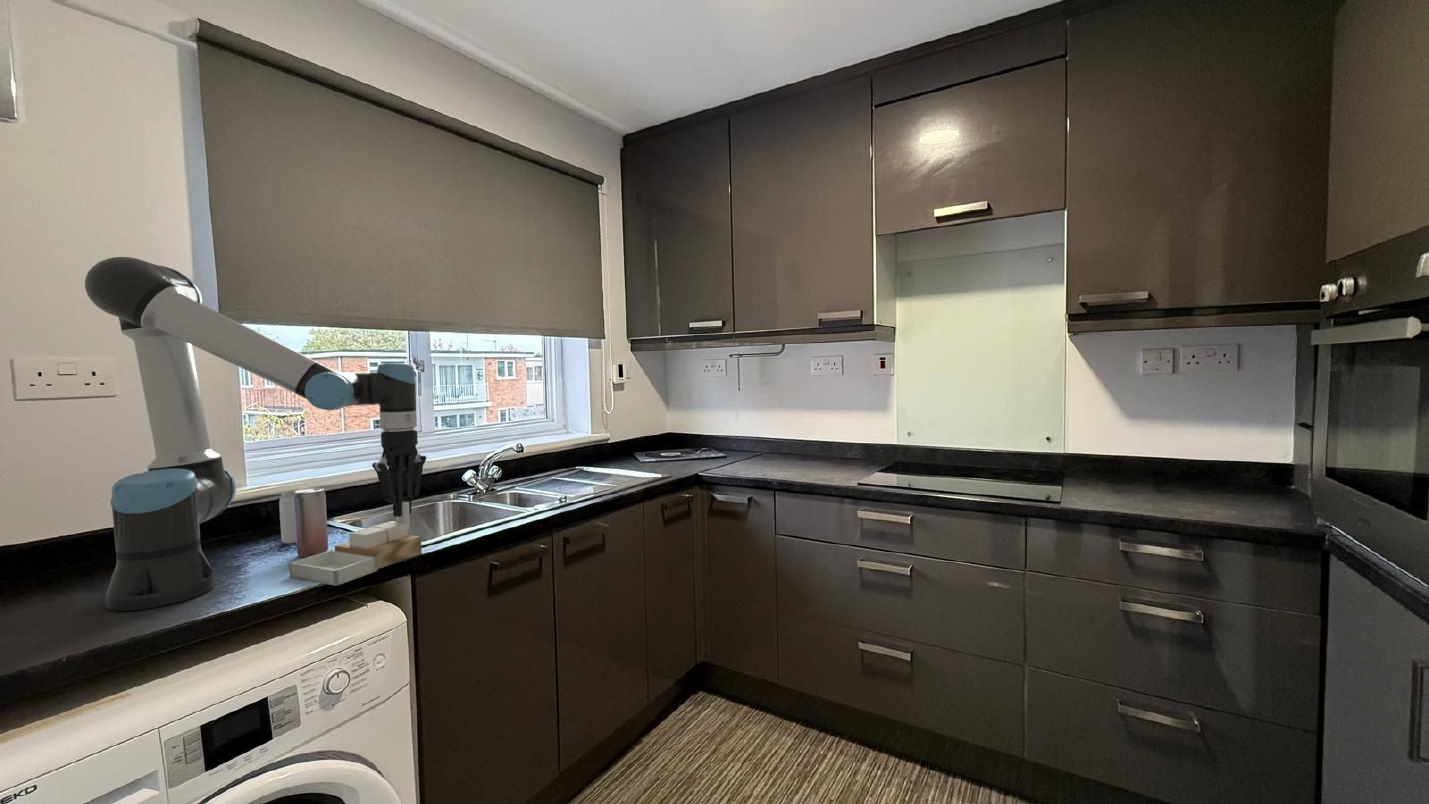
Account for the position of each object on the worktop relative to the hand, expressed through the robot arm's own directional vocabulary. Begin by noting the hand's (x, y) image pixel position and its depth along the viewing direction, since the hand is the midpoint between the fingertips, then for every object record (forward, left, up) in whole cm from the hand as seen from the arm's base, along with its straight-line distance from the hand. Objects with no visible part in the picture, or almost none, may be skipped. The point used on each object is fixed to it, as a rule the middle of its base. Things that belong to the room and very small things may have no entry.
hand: (403, 529), depth 138 cm
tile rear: (-3, 0, -1) cm, 4 cm away
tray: (-17, 0, -5) cm, 18 cm away
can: (-3, +33, -5) cm, 33 cm away
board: (-6, 0, -5) cm, 8 cm away
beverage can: (-9, +18, -5) cm, 21 cm away
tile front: (-9, 0, -1) cm, 9 cm away
